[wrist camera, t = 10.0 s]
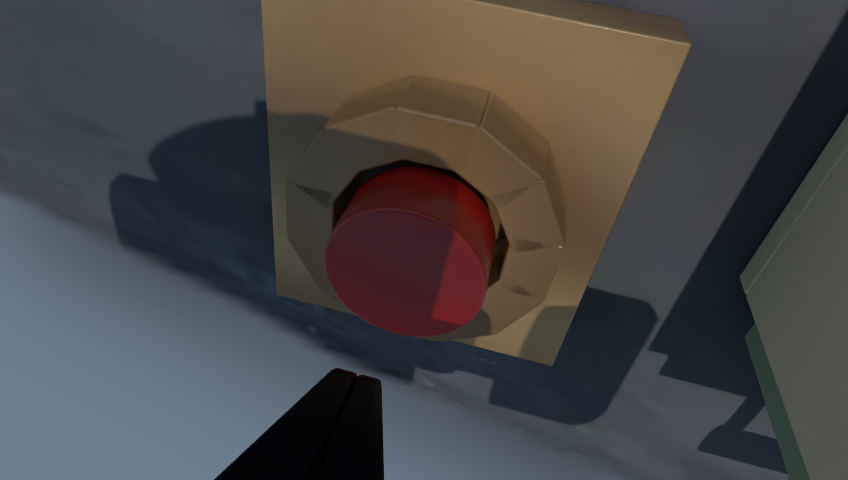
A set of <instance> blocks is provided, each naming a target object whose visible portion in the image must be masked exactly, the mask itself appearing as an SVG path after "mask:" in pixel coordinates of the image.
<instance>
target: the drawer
mask: <svg viewBox="0 0 848 480" xmlns="http://www.w3.org/2000/svg"><path fill="white" fill-rule="evenodd" d="M745 341H746V344H747V347H748V350H749V353H750V357H751V360H752V363H753V366H754V369H755V372H756V376H757V379H758V382H759V385H760V388H761V391H762V394H763V398H764V401H765V404H766V407H767V410H768V413H769V417H770V420H771V423H772V426H773V429H774V432H775V435H776V439H777V442H778V445H779V448H780V451H781V454H782V458H783V461H784V464H785V467H786V470H787V473H788V477H789V480H810V479H809V476H808V473H807V470H806V467H805V464H804V462H803V459H802V456H801V453H800V450H799V447H798V444H797V441H796V439H795V436H794V433H793V430H792V427H791V424H790V421H789V418H788V416H787V413H786V410H785V407H784V404H783V401H782V398H781V395H780V392H779V390H778V387H777V384H776V381H775V378H774V375H773V372H772V369H771V367H770V364H769V361H768V358H767V355H766V352H765V349H764V346H763V344H762V341H761V338H760V335H759V332H758V329H757V326H756V323H755V324H754V325H753V326H752V328H751V329H750V330H749V332H748V333H747V334H746V336H745Z"/></svg>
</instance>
